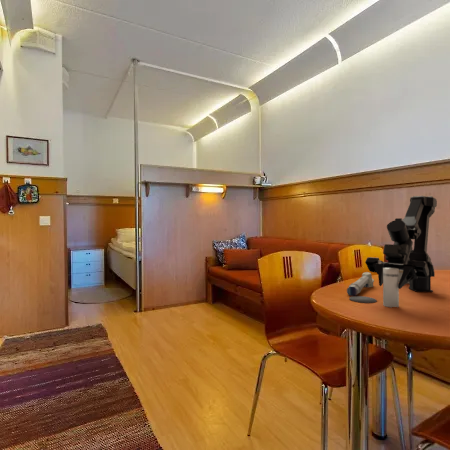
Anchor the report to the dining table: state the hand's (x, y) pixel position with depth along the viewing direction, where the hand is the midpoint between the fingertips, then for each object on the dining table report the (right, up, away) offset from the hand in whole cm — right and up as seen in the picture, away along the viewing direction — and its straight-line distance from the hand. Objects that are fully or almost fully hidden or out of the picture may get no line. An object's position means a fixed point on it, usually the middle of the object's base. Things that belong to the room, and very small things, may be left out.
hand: (389, 286), depth 102 cm
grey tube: (+2, -7, +25) cm, 26 cm away
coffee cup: (+29, -6, +40) cm, 50 cm away
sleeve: (+1, -7, +1) cm, 7 cm away
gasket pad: (-5, -7, +9) cm, 12 cm away
